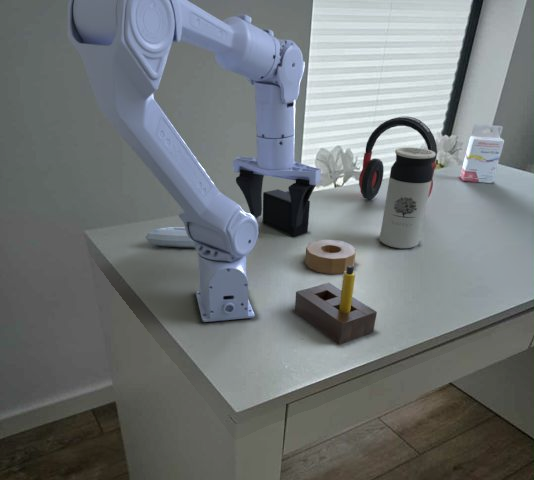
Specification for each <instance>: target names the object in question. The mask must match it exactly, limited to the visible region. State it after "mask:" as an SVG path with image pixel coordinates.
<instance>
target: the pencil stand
mask: <svg viewBox="0 0 534 480" xmlns="http://www.w3.org/2000/svg"><path fill="white" fill-rule="evenodd" d="M341 292H342V289H341V288H339V287H337V286H335V285H334V284H332V283H331V282H325V283H322V284H319V285H315V286H312V287H308V288H303V289H301V290H297V291H295V300H294V313H296V314H297V315H299V316H300V317H301V318H303V319H304V320H305V321H307V322H308V323H310V324H311V325H312V326H314V327H315V328H316V329H317V330H318V331H320V332H322V333H323V334H324V335H326V336H327V337H329V338H330V339H331V340H333V341H334V342H335V343H337V344H338V345H342V344H346V343H348V342H351V341H353V340H356V339H359V338H362V337H365V336H367V335H370V334H372V333H374V330H375V325H376V319H377V315H378V312H377V311H376V310H375V309H373V308H372V307H370V306H369V305H367V304H365V303H363V302H362V301H360V300H359V299H357V298H355V297H353V296H352V302H351V309H350V312H348V313H345V314H344V313H342V312H340V311H339V308H340V300H341Z"/></svg>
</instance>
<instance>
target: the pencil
mask: <svg viewBox="0 0 534 480" xmlns="http://www.w3.org/2000/svg"><path fill="white" fill-rule="evenodd" d="M354 268H355V267H354V266H347V271H345V272H344V273H343V274H342V276H343V277H342V284H341V290H342V292H341V300H340V308H339V311H340V312H342V313H344V314H345V313H348V312H350V309H351V302H352V297H353V294H354V288H355V287H354V286H355V281H356V280H355V279H356V273H355V272H354Z"/></svg>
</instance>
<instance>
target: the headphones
mask: <svg viewBox="0 0 534 480" xmlns="http://www.w3.org/2000/svg"><path fill="white" fill-rule="evenodd" d="M396 127H407V128H411V129H413V130H415V131H416V132H417V133H418V134H419V135H420V136H421V137H422V139H423V140H424V142H425V144H426V148H427V150H431V151H433V152H435V153H436V156H435V157H434V158H433V161H432V163H431V164H432V168H433V171H434V172H433V175H434V174H435V170H436V163H437V161H436V159H437V157H438V145H437V140H436V138H435V136H434V134H433V132H432V130H431V129H430V128H429V127H428V125H427V124H425V123H424V122H422V121H421V120H420V119H418V118H416V117H412V116H409V115H407V116H406V115H405V116H402V115H401V116H396V117H393V118H390V119H388V120H385V121H383V122H382V123H380V124H379V125H378V126H377V127H376V128H375V129H374V130H373V132H372V133H371V134H370V136H369V137H368V139H367V142H366V145H365V152H364V154H363V160H362V168H361V171H360V174H359V177H358V187H359V189H360V190H359V191H360V193H361V195H362V197H363V198H364V199H365V200H372V199H374V198H375V197H376V196H377V195H378V193H379V191H380V189H381V187H382V183H383V180H384V179H383V178H384V171H385V170H384V163H383V161H382V160H381V159H380V158H378V157H374V158H372V154H373V149H374V147H375V144H376V142H377V140H378V139H379V138H380V136H381V135H382V134H383V133H384V132H386V131H387V130H389V129H392V128H396ZM433 177H434V176H433ZM433 177H432V181H431V186H430V191H429V196H428V199H429V197H430V196H431V194H432V191H433V188H434V187H433V186H434V180H433Z"/></svg>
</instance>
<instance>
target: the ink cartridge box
mask: <svg viewBox="0 0 534 480" xmlns="http://www.w3.org/2000/svg"><path fill="white" fill-rule="evenodd" d="M487 129H488V130H489V131H483V130H487ZM503 129H504V127H503V125H492V124H491V125H489V124H474V125H473V127H472V130H471V135H470V136H469V140H468V144H467V148H466V153H465V156H464V159H463V164H462V168H461V172H460V176H459V177H460V178H461V180H462V181H463V182H471V183H472V182H473V183H486V184H487V183H488V184H493V182H494V179H495V176H496V172H497V168H498V166H499V163H500V159H501V155H502V151H503V147H504V144H505V140H504V139H503V138H502V137H501V136H502V132H503ZM461 173H462V175H463V176H464V177H470V178H464V177H463V176H462V175H461ZM475 178H487V179H475ZM491 179H493V180H491Z"/></svg>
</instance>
